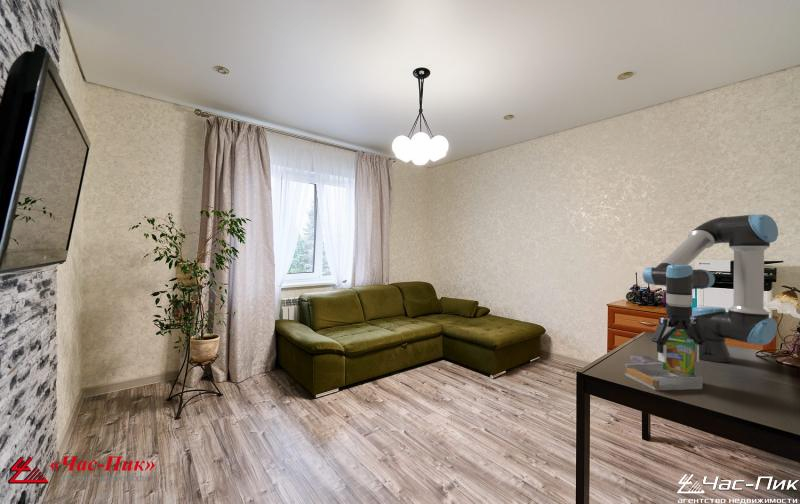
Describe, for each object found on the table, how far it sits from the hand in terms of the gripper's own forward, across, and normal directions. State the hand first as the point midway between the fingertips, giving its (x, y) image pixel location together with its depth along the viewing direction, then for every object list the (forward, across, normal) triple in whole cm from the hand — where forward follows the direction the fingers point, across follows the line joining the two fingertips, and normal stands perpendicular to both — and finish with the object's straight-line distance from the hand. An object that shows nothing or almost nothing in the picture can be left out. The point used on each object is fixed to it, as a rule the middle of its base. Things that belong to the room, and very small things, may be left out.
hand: (678, 361), depth 120 cm
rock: (+8, +1, -14) cm, 16 cm away
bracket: (+8, +7, 0) cm, 10 cm away
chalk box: (+3, 0, 0) cm, 3 cm away
